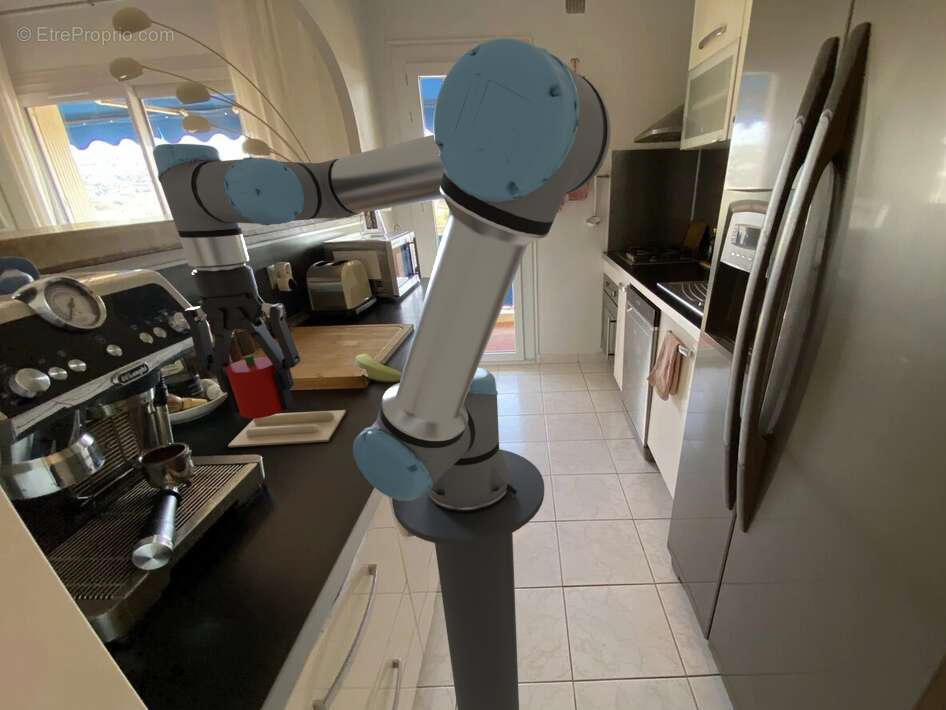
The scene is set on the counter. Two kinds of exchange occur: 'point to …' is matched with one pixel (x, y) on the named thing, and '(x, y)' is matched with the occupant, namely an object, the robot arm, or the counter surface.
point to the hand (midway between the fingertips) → (264, 407)
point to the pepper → (254, 387)
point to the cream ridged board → (289, 428)
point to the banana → (377, 369)
